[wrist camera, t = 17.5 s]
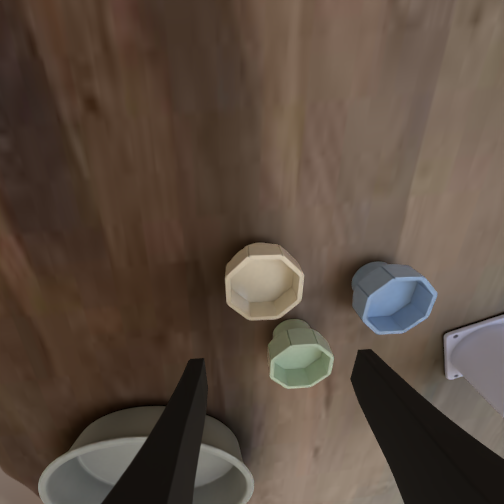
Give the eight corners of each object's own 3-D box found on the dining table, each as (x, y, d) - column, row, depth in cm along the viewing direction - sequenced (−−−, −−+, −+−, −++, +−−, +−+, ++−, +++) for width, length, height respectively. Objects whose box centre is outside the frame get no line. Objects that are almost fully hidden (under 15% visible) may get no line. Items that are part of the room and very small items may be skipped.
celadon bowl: (321, 311, 23) (337, 342, 20) (315, 351, 26) (328, 386, 22) (265, 313, 23) (271, 346, 19) (264, 354, 25) (269, 390, 22)
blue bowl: (409, 252, 21) (445, 275, 17) (393, 302, 23) (422, 332, 20) (348, 254, 21) (372, 278, 17) (338, 305, 23) (357, 336, 19)
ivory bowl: (293, 232, 19) (307, 253, 16) (289, 288, 22) (299, 318, 18) (225, 234, 19) (223, 256, 15) (228, 291, 21) (227, 321, 18)
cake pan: (130, 506, 38) (117, 550, 34) (18, 428, 28) (-19, 477, 24) (272, 471, 36) (277, 513, 32) (210, 372, 26) (205, 415, 22)
